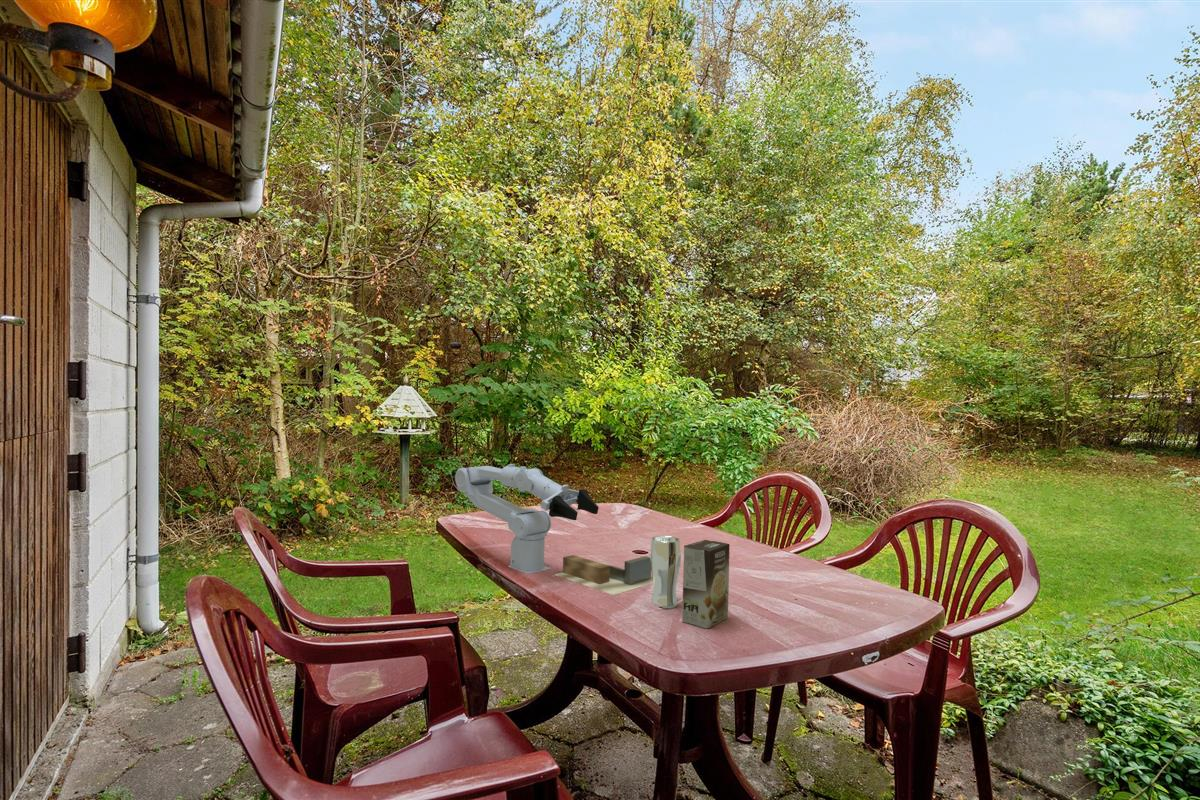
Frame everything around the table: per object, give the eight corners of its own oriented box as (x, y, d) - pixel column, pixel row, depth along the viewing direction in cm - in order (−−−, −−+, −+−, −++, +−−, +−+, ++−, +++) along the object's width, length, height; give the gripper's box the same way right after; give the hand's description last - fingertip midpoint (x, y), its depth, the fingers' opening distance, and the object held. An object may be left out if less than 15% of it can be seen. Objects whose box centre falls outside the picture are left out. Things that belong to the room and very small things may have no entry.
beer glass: (644, 606, 132) (645, 539, 132) (656, 597, 138) (657, 534, 138) (673, 611, 129) (674, 543, 129) (684, 602, 135) (685, 537, 135)
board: (553, 576, 153) (553, 574, 153) (601, 564, 166) (602, 562, 166) (613, 597, 138) (613, 595, 138) (662, 582, 150) (662, 579, 150)
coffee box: (708, 629, 119) (709, 551, 119) (681, 622, 123) (682, 545, 123) (729, 617, 126) (730, 543, 126) (702, 610, 130) (704, 538, 130)
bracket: (607, 578, 151) (607, 556, 151) (628, 572, 157) (628, 551, 157) (630, 585, 145) (630, 563, 145) (650, 578, 151) (651, 557, 151)
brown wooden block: (562, 572, 155) (563, 557, 155) (572, 569, 158) (572, 555, 158) (599, 584, 145) (599, 568, 146) (609, 581, 148) (609, 565, 148)
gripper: (532, 482, 148) (568, 504, 140) (572, 474, 159) (608, 493, 150) (528, 508, 150) (564, 530, 141) (568, 498, 161) (603, 518, 152)
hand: (586, 513), depth 146 cm, fingers open, 7 cm apart
